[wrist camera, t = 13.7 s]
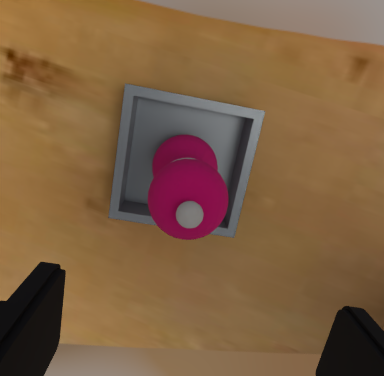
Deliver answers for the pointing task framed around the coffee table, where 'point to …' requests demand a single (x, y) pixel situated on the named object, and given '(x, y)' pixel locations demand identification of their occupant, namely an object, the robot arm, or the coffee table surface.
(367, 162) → the coffee table surface
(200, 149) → the pepper mill
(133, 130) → the bin
